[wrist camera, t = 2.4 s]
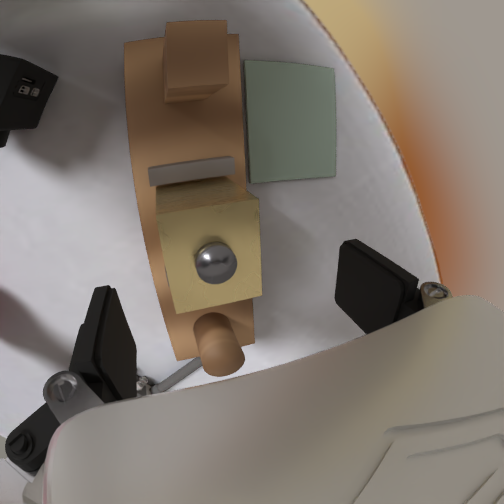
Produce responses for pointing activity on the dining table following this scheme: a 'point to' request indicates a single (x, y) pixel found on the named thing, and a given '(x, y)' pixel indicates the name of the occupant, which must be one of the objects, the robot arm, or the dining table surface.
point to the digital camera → (22, 94)
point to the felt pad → (290, 121)
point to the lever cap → (209, 242)
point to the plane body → (188, 162)
